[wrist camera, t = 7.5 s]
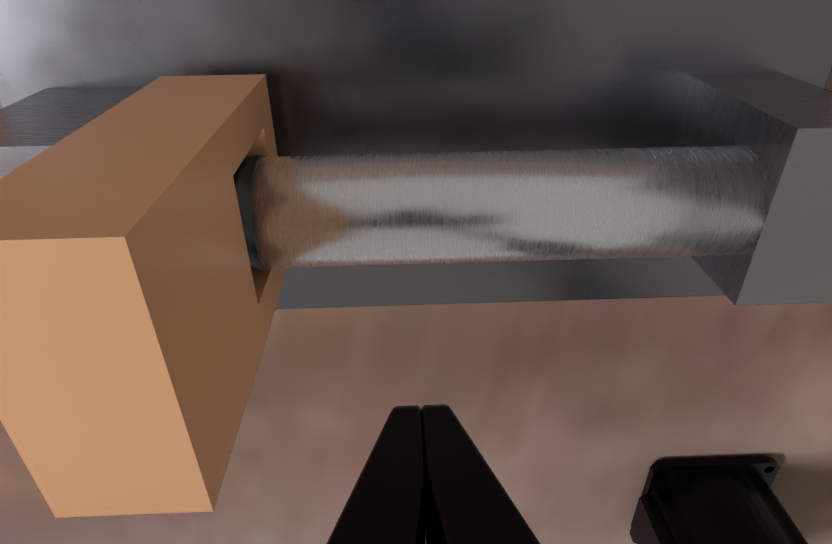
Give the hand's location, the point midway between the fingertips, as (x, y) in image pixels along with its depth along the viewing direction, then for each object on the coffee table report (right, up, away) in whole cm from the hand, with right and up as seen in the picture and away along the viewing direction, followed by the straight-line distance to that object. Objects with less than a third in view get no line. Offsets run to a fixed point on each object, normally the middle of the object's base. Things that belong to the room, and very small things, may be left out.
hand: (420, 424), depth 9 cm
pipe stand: (0, +7, +11) cm, 13 cm away
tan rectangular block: (-6, +5, +9) cm, 12 cm away
